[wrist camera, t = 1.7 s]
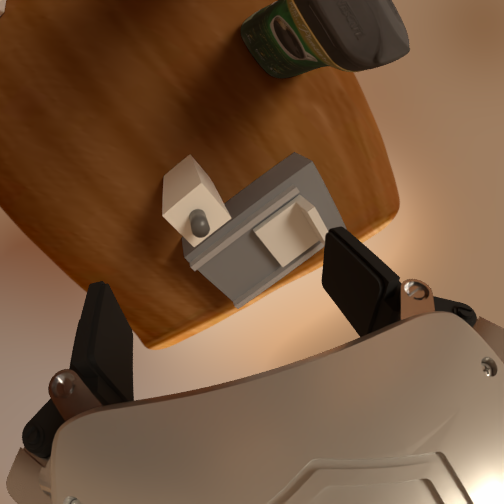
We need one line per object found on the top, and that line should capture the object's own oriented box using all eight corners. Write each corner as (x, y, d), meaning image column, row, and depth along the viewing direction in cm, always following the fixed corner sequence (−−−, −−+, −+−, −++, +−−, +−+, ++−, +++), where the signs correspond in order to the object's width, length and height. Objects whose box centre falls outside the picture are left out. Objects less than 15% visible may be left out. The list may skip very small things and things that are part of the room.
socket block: (294, 152, 34) (316, 163, 29) (329, 214, 41) (350, 232, 36) (181, 237, 36) (184, 262, 31) (232, 286, 43) (242, 312, 38)
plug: (190, 154, 31) (205, 192, 19) (210, 178, 33) (238, 230, 21) (163, 176, 31) (161, 228, 19) (184, 199, 33) (197, 262, 22)
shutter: (299, 194, 32) (314, 206, 29) (322, 233, 36) (336, 247, 33) (252, 229, 32) (262, 245, 29) (280, 264, 37) (291, 281, 33)
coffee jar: (318, 61, 28) (432, 56, 13) (271, 87, 29) (371, 88, 14) (281, 3, 22) (377, -48, 7) (228, 26, 23) (295, -37, 8)
